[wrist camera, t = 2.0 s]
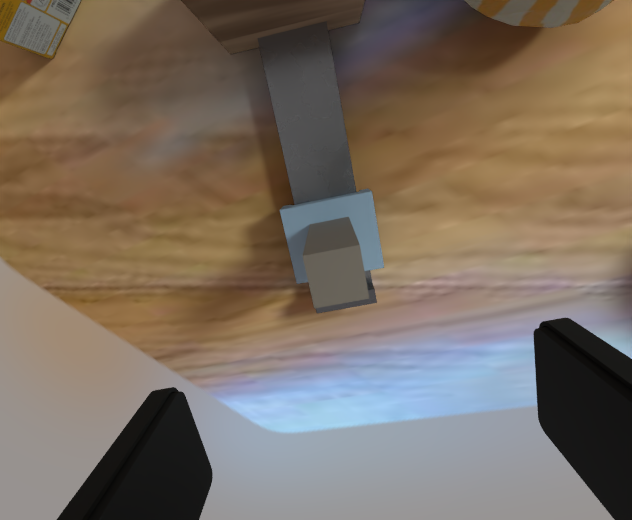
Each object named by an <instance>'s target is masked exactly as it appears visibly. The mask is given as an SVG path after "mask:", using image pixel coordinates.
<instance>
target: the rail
mask: <svg viewBox="0 0 632 520" xmlns="http://www.w3.org/2000/svg"><path fill="white" fill-rule="evenodd" d="M257 39H258V43H259V48H260V52H261V56H262V61H263V65H264V70H265V74H266V79H267V83H268V88H269V92H270V97H271V101H272V106H273V110H274V115H275V119H276V124H277V128H278V133H279V137H280V142H281V146H282V151H283V155H284V160H285V164H286V168H287V173H288V177H289V182H290V186H291V191H292V195H293V200H294V204H295V205H297V204H302V203H306V202H311V201H316V200H321V199H326V198H331V197H336V196H340V195H345V194H350V193H355V192H356V187H355V181H354V175H353V170H352V164H351V158H350V153H349V147H348V141H347V135H346V130H345V124H344V118H343V112H342V107H341V101H340V95H339V89H338V84H337V78H336V72H335V67H334V61H333V55H332V49H331V44H330V38H329V32H328V26H327V21H325V22H321V23H317V24H313V25H309V26H305V27H300V28H296V29H292V30H288V31H284V32H280V33H276V34H272V35H268V36H264V37H260V38H257ZM365 277H366V282H367V288H368V294H369V299H364V300H359V301H353V302H348V303H342V304H337V305H331V306H325V307H320V308H316V311H317V313H322V312H328V311H333V310H339V309H344V308H350V307H356V306H361V305H367V304H372V303H377V301H376V295H375V289H374V287H373V284H372V279H371V273H370V270H368V271H365Z"/></svg>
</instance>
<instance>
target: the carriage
mask: <svg viewBox="0 0 632 520" xmlns="http://www.w3.org/2000/svg"><path fill="white" fill-rule="evenodd" d="M359 191H360V192H355V193H350V194H345V195H340V196H336V197H331V198H326V199H321V200H316V201H311V202H306V203H302V204H297V205H292V204H291V205H286V206H283V207H282V208H281V209H280V214H281V218H282V222H283V227H284V231H285V235H286V239H287V244H288V248H289V252H290V256H291V261H292V265H293V269H294V273H295V278H296V282H297V284H299V283H304V282H308V283H309V287H310V292H311V296H312V300H313V305H314V308H320V307H325V306H331V305H337V304H342V303H348V302H353V301H359V300H364V299H369V294H368V288H367V282H366V277H365V271H368V270H373V269H379V268H384V263H383V257H382V251H381V245H380V239H379V233H378V226H377V220H376V214H375V208H374V202H373V196H372V191H371V190H369V189H363V190H359Z"/></svg>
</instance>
